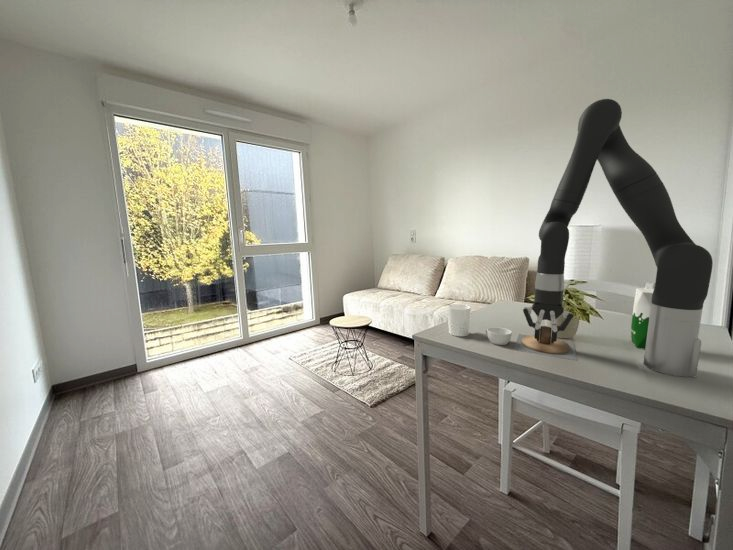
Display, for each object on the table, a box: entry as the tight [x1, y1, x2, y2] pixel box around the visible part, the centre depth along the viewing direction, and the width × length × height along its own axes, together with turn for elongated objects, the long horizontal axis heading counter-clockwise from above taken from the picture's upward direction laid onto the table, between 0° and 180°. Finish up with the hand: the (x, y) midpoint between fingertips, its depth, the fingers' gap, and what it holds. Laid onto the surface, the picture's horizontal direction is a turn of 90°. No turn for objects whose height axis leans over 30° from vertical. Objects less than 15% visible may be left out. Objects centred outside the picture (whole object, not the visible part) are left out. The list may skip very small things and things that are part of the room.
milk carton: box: [630, 287, 654, 349], centre depth 93 cm, size 9×9×20 cm
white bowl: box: [485, 326, 513, 346], centre depth 98 cm, size 10×10×5 cm
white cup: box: [447, 303, 472, 337], centre depth 108 cm, size 8×8×10 cm
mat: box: [513, 333, 578, 362], centre depth 95 cm, size 16×16×1 cm
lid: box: [522, 325, 570, 354], centre depth 94 cm, size 13×13×6 cm
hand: (545, 341), depth 94 cm, fingers open, 3 cm apart
